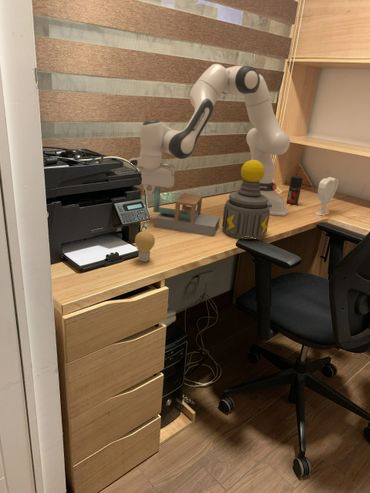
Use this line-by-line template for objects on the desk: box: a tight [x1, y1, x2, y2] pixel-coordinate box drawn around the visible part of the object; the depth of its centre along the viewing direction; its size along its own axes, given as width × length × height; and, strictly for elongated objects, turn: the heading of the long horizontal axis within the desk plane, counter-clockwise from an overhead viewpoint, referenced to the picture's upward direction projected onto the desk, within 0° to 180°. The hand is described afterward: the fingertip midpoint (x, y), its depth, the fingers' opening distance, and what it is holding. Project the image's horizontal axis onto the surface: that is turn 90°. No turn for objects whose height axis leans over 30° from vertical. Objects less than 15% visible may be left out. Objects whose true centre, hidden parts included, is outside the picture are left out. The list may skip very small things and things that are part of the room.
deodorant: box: [286, 175, 304, 206], centre depth 202 cm, size 6×6×15 cm
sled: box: [152, 187, 198, 219], centre depth 157 cm, size 18×7×10 cm, turn 77°
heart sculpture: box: [315, 176, 339, 216], centre depth 191 cm, size 16×5×18 cm, turn 137°
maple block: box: [183, 205, 192, 214], centre depth 157 cm, size 4×4×4 cm
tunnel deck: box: [154, 192, 221, 237], centre depth 157 cm, size 24×14×12 cm, turn 77°
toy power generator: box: [221, 159, 270, 240], centre depth 152 cm, size 19×19×30 cm
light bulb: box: [134, 230, 156, 262], centre depth 123 cm, size 6×6×10 cm
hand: (149, 195), depth 158 cm, fingers closed
